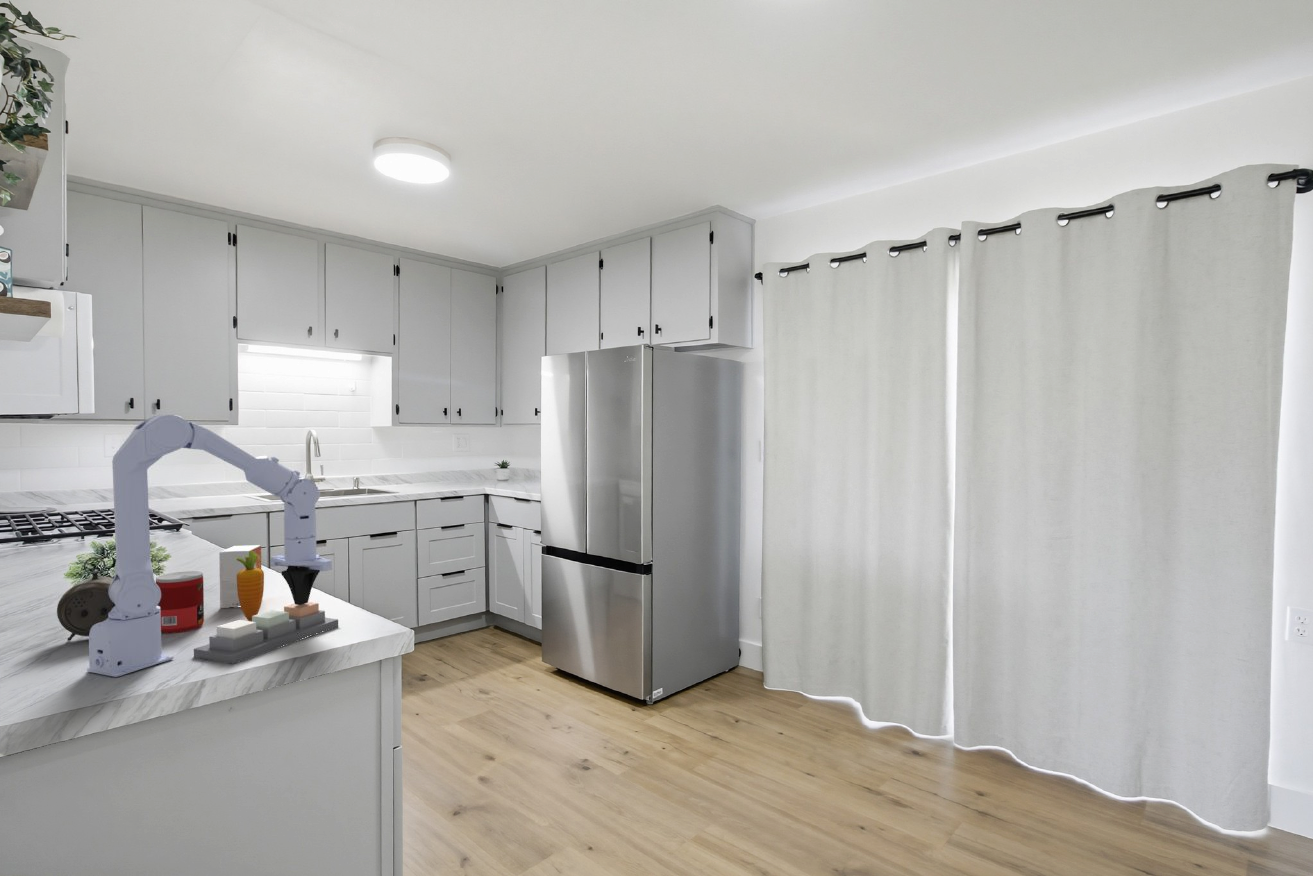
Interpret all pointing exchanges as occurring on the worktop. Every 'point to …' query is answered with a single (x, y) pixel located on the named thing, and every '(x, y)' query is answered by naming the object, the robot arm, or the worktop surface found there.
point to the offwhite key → (236, 629)
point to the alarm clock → (85, 603)
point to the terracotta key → (302, 609)
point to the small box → (234, 572)
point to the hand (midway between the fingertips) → (301, 603)
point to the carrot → (250, 586)
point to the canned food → (181, 601)
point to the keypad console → (264, 639)
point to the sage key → (270, 618)
